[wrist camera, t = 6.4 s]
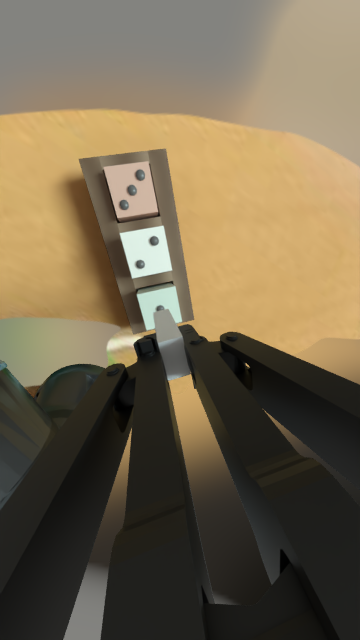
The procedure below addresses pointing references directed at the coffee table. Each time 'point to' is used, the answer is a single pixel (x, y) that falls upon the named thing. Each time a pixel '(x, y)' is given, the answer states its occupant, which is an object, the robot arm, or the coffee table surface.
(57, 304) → the coffee table surface
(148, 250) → the tile two
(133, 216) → the tile three
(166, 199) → the board
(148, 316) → the tile one
